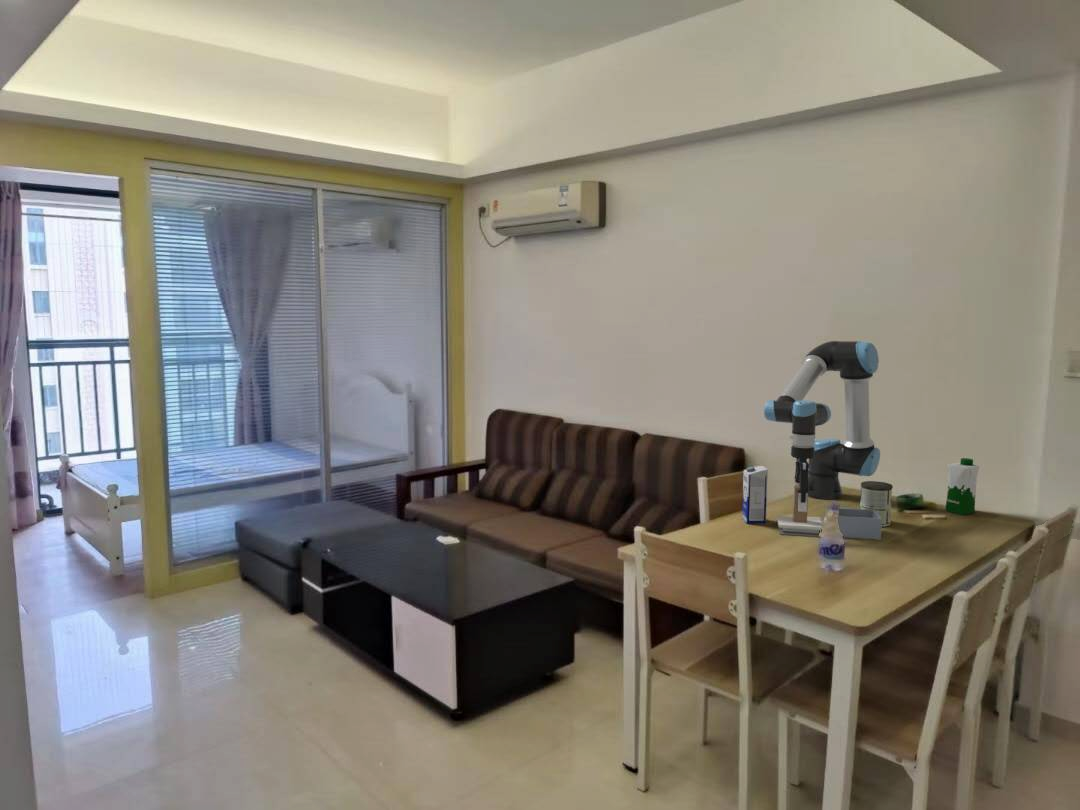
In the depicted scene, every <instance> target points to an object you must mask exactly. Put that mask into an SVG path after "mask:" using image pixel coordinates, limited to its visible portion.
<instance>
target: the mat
mask: <svg viewBox="0 0 1080 810" xmlns="http://www.w3.org/2000/svg"><path fill="white" fill-rule="evenodd" d="M776 524H777V528H778V532H779V535H780V536H781V535H782V536H793V537H794V536H797V537H809V538H810V537H811V538H820V537H819V533H820V530H819V533H806V532H790V531H783V529H782V528H780V527H779V526H778V522H777V521H776Z"/></svg>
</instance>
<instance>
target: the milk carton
mask: <svg viewBox="0 0 1080 810" xmlns="http://www.w3.org/2000/svg"><path fill="white" fill-rule="evenodd" d="M768 470H769V469H768V468H766V467H765V466H763V465H757V466H749V467H747V468H746V469H743V479H742V480H743V481H742V484H743V485H742V506H741V507H742V509H741V510H742V511H741V512H742V514H741V518H742V520H743V521H744V522H745V523H746V524H749V525H751V524H752V525H758V524H760V525H761V524H762V525H763V524H764V525H765V524H767V523H766V522H767V502H768V501H767V499H768V498H767V497H768V495H767V494H768V476H769V475H768V473H769V471H768Z"/></svg>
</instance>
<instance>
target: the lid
mask: <svg viewBox="0 0 1080 810" xmlns="http://www.w3.org/2000/svg"><path fill="white" fill-rule="evenodd" d="M798 490H800V487H799V486H795V485H794V486H793V501H792V503H793V506H792V515H785V514H776V523H777V522H778V525H777V527H778V526H779V527H780V528H782V529H783V531H790V532H806V533H819V530H821V529H822V524H823V525H824V523H823V521H822V518H821V517H820V516H819V517H817V516H808V511H809V510H808V509H809V507H808V504H809V497H808V495H807V512H800V511H798V501H799V493H797V491H798ZM821 531H822V530H821Z"/></svg>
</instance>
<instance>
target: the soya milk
mask: <svg viewBox="0 0 1080 810" xmlns="http://www.w3.org/2000/svg"><path fill="white" fill-rule="evenodd" d="M973 463H974V459H972V458H968V457H967V458H966V457H962V458H960V462H953V463H949V464H948V463H947V464H946V466H947V467H946V468H947V472H948V479H947V490H946V491H947V493H946V494H947V496H946V502H945V509H944V510H945V511H946V512H949V513H953V514H957V515H962V516H963V515H968V514H969V515H970V514H975V512H976V511H975V509H976V507H975V506H976V493H977V478H978V473H979V469H980V465H975V464H973Z"/></svg>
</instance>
